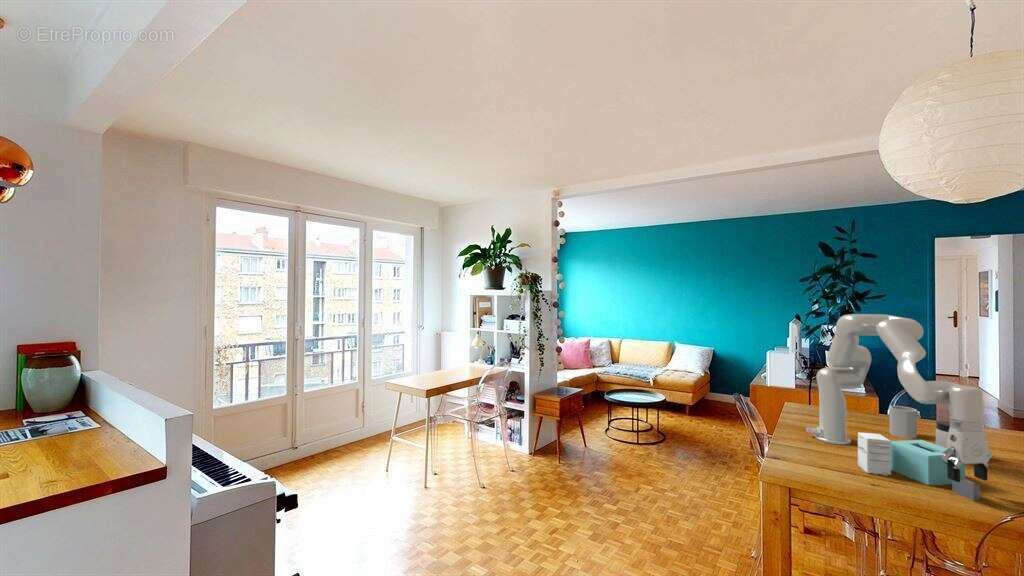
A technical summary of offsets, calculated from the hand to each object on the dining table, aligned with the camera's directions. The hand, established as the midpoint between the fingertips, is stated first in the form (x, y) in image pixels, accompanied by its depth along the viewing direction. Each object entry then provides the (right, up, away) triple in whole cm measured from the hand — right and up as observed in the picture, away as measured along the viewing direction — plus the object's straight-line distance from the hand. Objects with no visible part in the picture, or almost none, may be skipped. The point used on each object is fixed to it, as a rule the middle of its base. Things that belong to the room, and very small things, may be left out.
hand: (967, 479), depth 138 cm
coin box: (+1, -5, +15) cm, 16 cm away
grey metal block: (0, -6, 0) cm, 6 cm away
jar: (+31, -6, +36) cm, 48 cm away
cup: (+32, -6, +58) cm, 67 cm away
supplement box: (-13, -6, +20) cm, 24 cm away
